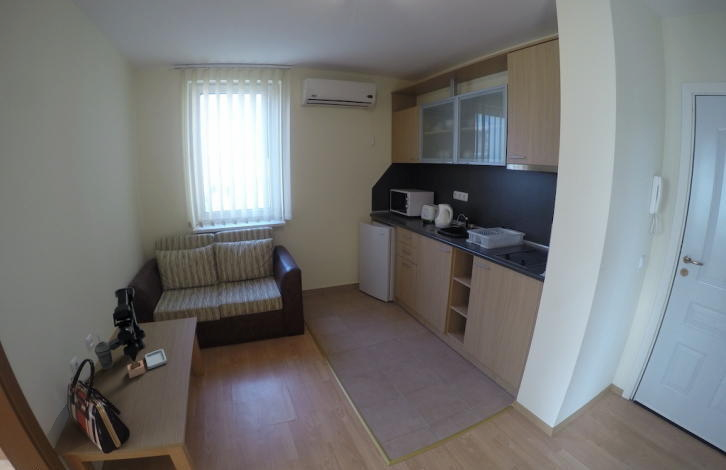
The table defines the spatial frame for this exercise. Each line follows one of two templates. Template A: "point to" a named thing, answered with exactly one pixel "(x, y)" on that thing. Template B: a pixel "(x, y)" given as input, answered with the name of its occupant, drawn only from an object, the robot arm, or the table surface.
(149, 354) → the tray
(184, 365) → the table surface
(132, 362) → the dowel
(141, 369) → the holder
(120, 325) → the robot arm
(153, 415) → the table surface
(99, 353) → the beverage cup
